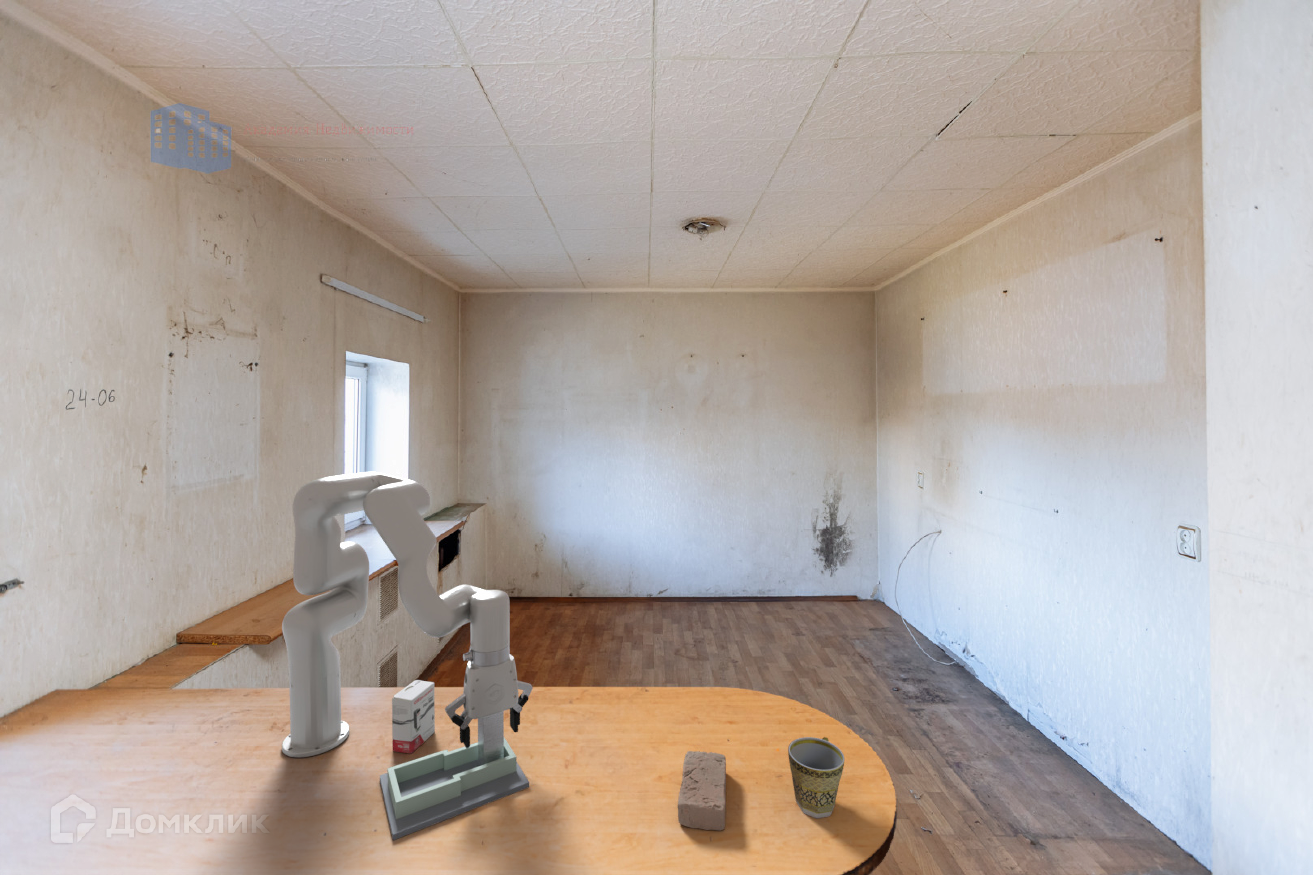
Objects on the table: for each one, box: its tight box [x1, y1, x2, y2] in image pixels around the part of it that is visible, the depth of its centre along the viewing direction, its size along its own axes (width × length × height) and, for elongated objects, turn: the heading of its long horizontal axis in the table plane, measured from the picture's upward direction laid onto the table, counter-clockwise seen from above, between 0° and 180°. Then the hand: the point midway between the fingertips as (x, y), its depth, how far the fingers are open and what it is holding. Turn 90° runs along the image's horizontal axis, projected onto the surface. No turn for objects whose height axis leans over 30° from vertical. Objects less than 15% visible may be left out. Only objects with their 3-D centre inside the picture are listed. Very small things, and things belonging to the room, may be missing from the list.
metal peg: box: [477, 711, 505, 766], centre depth 109 cm, size 4×4×12 cm
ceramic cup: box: [787, 736, 845, 819], centre depth 101 cm, size 13×10×10 cm
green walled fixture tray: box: [379, 737, 530, 841], centre depth 105 cm, size 18×24×4 cm
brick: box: [677, 750, 727, 832], centre depth 102 cm, size 17×8×5 cm, turn 172°
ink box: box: [391, 679, 436, 754], centre depth 119 cm, size 9×5×12 cm, turn 168°
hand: (490, 736), depth 109 cm, fingers open, 9 cm apart
